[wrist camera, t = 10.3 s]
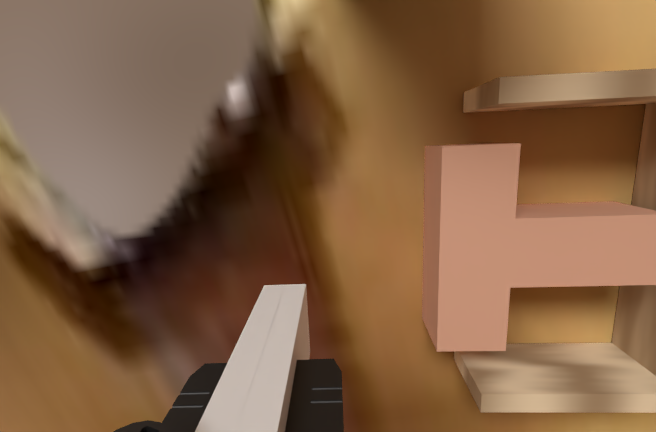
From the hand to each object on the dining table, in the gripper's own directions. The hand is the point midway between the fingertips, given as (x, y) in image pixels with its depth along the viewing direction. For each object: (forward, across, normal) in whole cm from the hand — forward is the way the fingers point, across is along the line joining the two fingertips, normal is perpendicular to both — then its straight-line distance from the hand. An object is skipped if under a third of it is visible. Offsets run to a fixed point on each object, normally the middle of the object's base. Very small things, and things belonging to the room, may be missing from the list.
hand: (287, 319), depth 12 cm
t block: (+11, +14, 0) cm, 17 cm away
